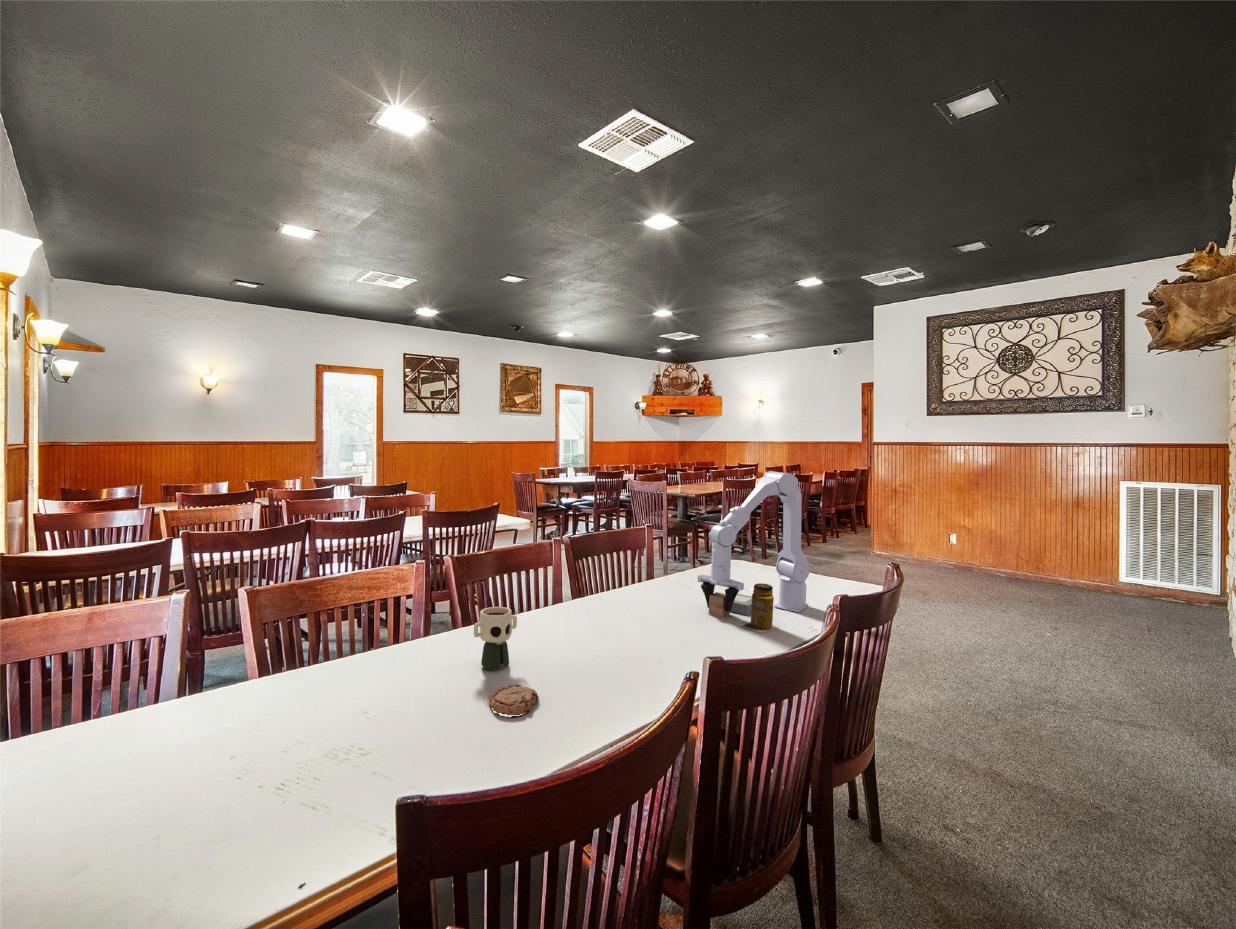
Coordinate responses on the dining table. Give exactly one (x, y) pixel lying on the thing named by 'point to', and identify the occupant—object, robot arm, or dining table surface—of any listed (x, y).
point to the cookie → (513, 699)
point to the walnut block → (717, 605)
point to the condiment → (761, 609)
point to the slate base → (742, 604)
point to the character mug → (495, 635)
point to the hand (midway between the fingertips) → (719, 609)
